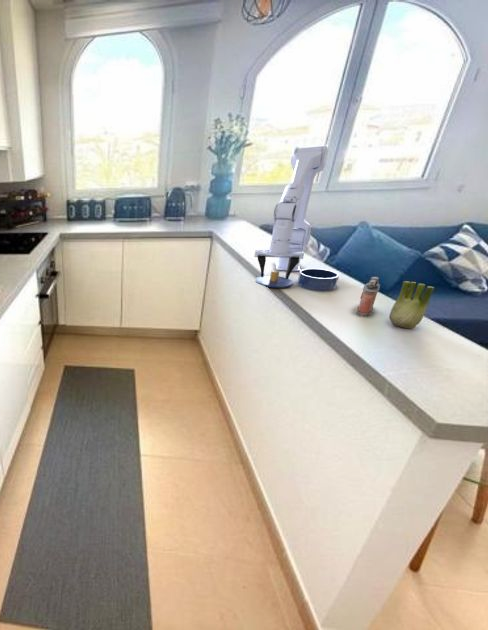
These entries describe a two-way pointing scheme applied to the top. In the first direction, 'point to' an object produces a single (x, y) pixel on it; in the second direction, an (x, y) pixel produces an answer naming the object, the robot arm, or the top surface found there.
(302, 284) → the bowl
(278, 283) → the tin lid
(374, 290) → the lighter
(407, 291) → the fennel bulb
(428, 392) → the top surface
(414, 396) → the top surface
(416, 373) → the top surface
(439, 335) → the top surface
